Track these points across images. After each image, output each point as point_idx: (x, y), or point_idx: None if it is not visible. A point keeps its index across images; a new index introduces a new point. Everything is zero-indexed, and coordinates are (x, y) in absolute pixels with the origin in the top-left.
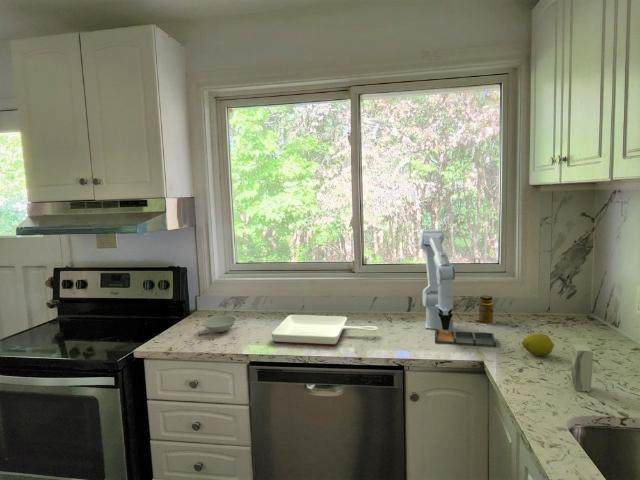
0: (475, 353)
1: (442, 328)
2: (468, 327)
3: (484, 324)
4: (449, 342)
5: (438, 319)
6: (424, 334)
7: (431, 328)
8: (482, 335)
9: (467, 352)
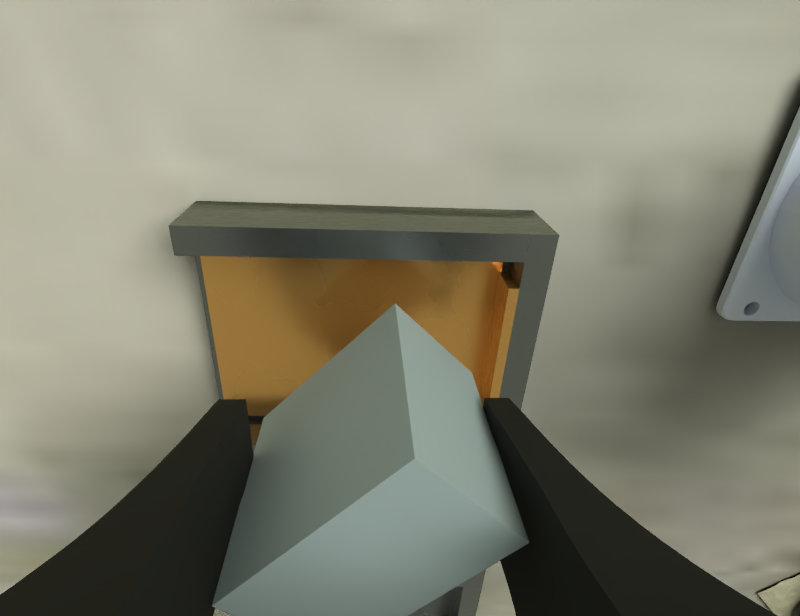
0: (49, 538)
1: (210, 409)
2: (738, 510)
3: (778, 597)
4: (217, 371)
5: (408, 432)
6: (546, 43)
7: (778, 163)
8: (450, 606)
9: (38, 492)
